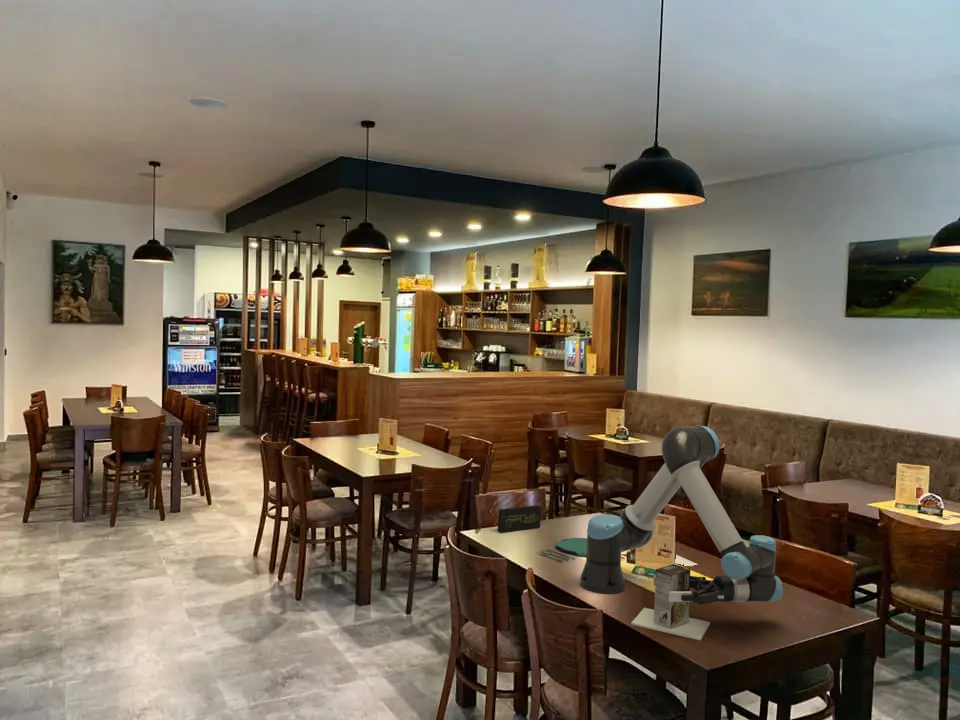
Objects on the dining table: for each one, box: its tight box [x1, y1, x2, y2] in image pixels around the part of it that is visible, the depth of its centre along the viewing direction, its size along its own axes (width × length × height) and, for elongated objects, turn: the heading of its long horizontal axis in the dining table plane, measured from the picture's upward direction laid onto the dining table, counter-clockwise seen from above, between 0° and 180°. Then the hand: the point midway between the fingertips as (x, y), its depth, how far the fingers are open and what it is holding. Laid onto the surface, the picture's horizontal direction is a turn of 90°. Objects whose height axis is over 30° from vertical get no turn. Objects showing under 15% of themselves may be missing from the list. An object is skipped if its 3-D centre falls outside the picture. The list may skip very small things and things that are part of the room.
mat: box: [631, 607, 711, 641], centre depth 216 cm, size 20×14×1 cm
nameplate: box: [497, 505, 542, 534], centre depth 312 cm, size 21×2×10 cm, turn 121°
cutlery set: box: [537, 537, 587, 563], centre depth 285 cm, size 20×30×2 cm, turn 130°
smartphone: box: [674, 554, 698, 567], centre depth 279 cm, size 7×1×15 cm
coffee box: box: [653, 563, 691, 629], centre depth 215 cm, size 9×6×16 cm
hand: (661, 588), depth 215 cm, fingers open, 12 cm apart
